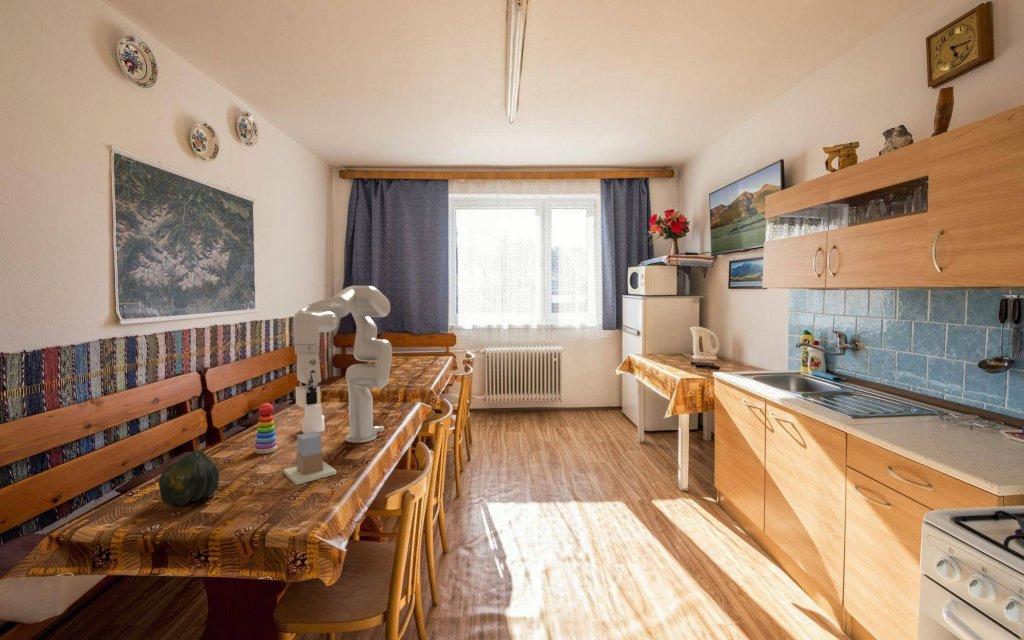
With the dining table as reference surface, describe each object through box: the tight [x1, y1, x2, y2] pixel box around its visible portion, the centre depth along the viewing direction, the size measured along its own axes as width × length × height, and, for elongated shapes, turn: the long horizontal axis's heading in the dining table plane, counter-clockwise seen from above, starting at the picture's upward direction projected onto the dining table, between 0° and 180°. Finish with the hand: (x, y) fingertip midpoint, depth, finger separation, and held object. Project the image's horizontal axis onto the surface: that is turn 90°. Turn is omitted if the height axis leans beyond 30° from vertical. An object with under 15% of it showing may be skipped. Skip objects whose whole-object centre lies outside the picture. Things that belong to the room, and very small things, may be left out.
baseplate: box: [283, 452, 337, 486], centre depth 154 cm, size 13×13×7 cm
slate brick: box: [296, 432, 323, 457], centre depth 154 cm, size 6×6×6 cm
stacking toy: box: [253, 402, 278, 455], centre depth 175 cm, size 8×8×19 cm
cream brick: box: [295, 385, 322, 409], centre depth 153 cm, size 6×6×6 cm
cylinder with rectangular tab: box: [301, 404, 325, 434], centre depth 202 cm, size 9×9×12 cm
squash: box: [158, 449, 220, 507], centre depth 135 cm, size 14×15×15 cm
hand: (308, 401), depth 153 cm, fingers closed on cream brick, 6 cm apart
